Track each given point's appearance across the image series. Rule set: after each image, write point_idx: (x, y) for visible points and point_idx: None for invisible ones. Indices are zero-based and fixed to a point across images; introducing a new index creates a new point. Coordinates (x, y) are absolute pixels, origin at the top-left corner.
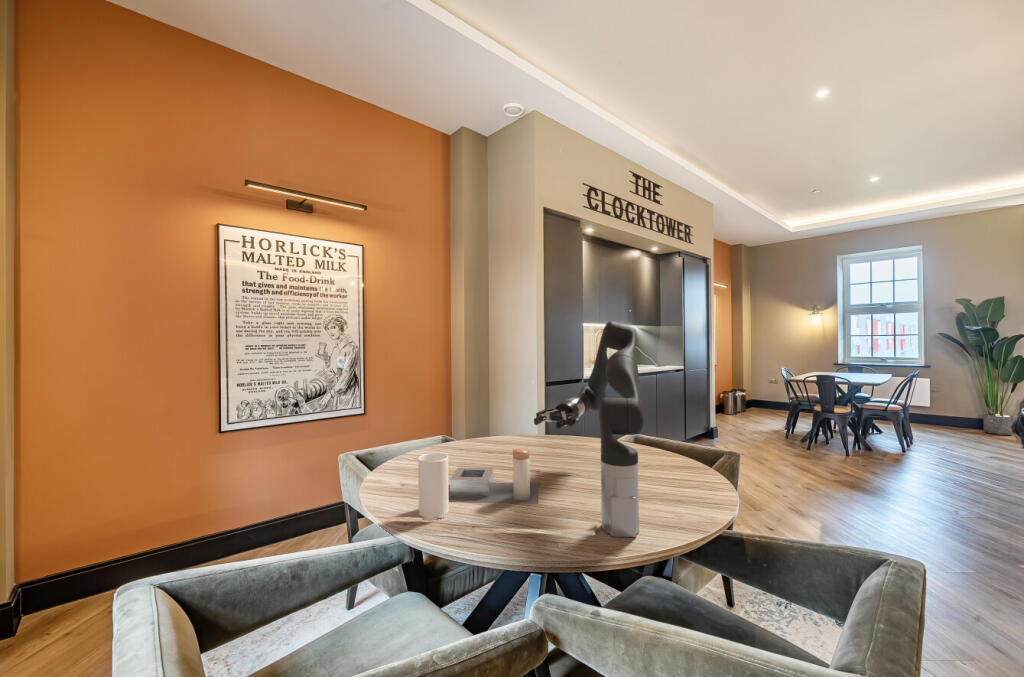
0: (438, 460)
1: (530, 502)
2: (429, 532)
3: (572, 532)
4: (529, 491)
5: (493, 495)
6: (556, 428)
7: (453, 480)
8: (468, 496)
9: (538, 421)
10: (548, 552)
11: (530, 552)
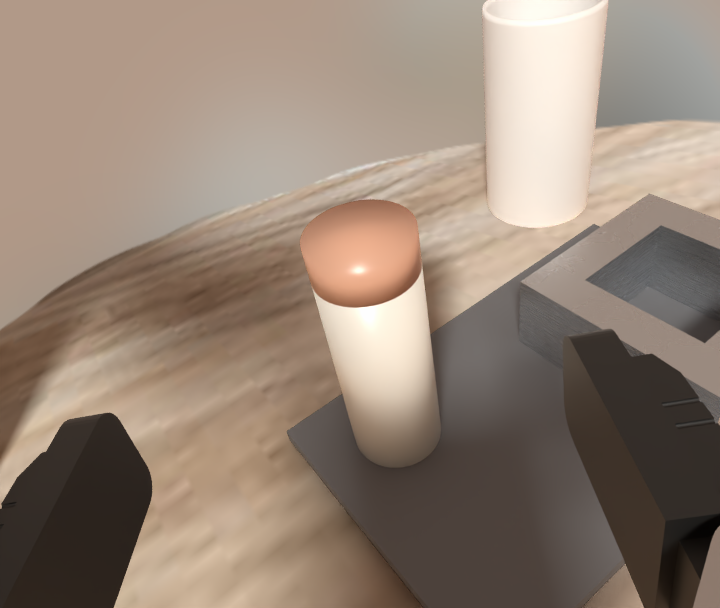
0: (485, 4)
1: (323, 417)
2: (438, 170)
3: (87, 381)
4: (351, 424)
5: (517, 360)
6: (144, 478)
7: (638, 204)
8: None
9: (595, 451)
10: (124, 281)
11: (165, 259)
